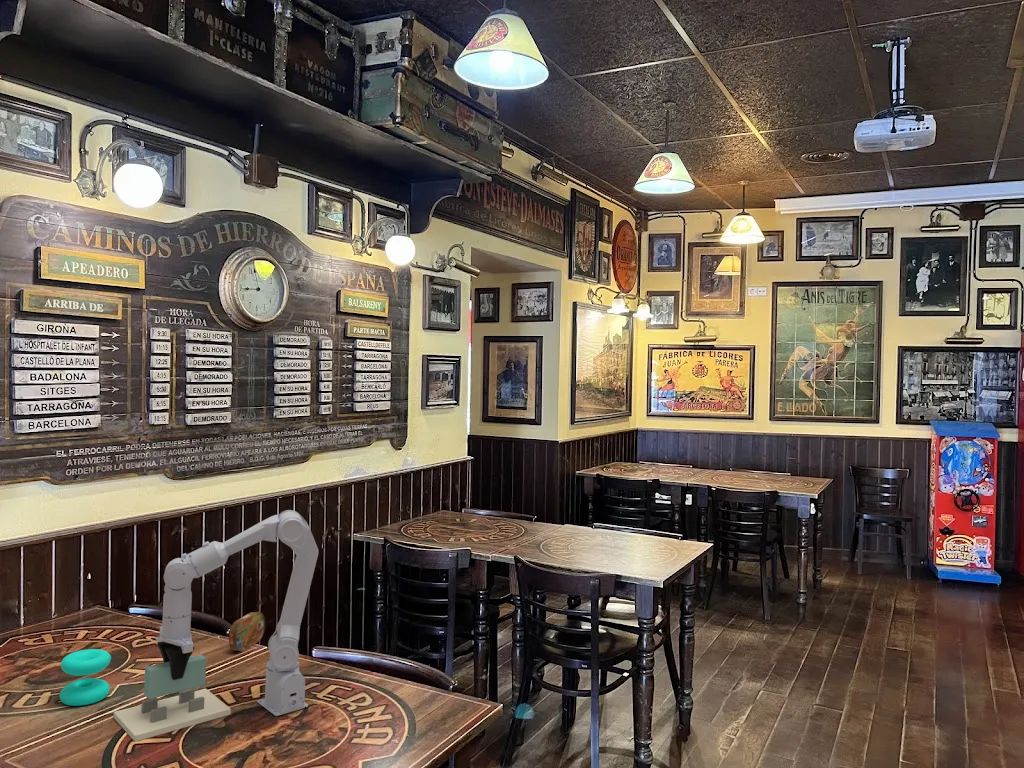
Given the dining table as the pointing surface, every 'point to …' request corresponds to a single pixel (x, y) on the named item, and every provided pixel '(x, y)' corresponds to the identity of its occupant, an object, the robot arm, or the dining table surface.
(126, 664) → the dining table surface
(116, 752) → the dining table surface
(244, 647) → the tin
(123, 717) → the hinge board
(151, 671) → the teal rectangular block
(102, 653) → the donuts
